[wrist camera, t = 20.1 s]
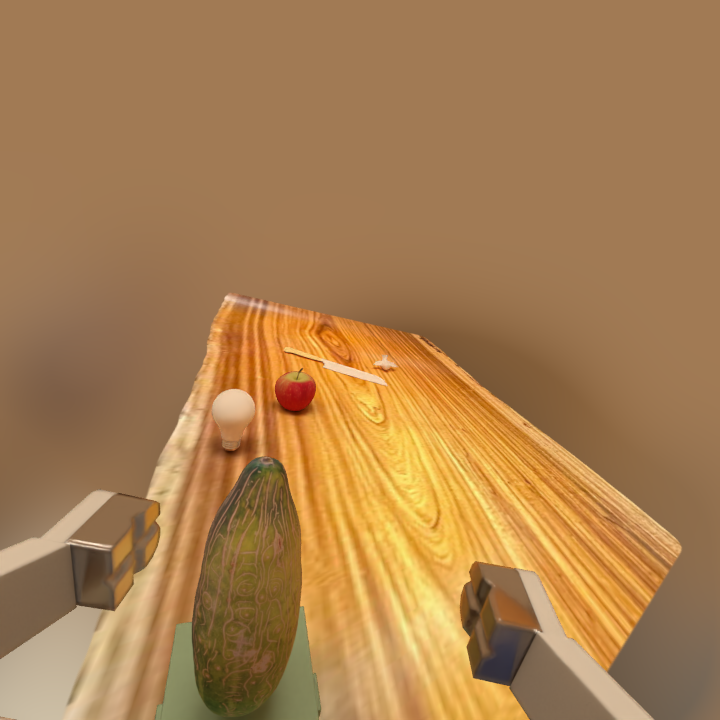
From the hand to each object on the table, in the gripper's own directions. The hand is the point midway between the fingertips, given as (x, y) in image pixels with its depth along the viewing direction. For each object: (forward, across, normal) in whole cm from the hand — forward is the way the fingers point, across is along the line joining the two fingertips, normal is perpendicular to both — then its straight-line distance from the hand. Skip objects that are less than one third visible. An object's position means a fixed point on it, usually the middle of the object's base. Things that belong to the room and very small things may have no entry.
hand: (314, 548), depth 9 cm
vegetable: (+9, +3, +25) cm, 27 cm away
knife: (+91, +6, +30) cm, 96 cm away
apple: (+63, +12, +31) cm, 71 cm away
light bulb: (+45, +18, +31) cm, 58 cm away
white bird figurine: (+97, -9, +30) cm, 102 cm away
